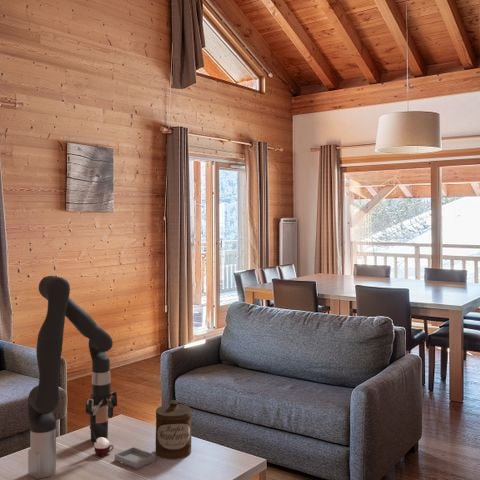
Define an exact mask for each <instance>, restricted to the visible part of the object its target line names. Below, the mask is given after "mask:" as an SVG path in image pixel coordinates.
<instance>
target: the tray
mask: <svg viewBox="0 0 480 480" xmlns="http://www.w3.org/2000/svg"><path fill="white" fill-rule="evenodd" d="M115 460H116V461H115ZM114 461H115V462H117V461H119V462H118V463H120V462H122V463H123V464H122V463H121V464H122V465H124V464H126V465H125V466H127V465H128V466H127V467H129V466H130V467H129V468H131V467H132V469H134V470H136V469H137V470H139V469H141V468H143V467H145V465H146V466H148V465H150V464H152V463H154V462H156V454H155V453H152V452H149V451H146V450H144V449H141V448H138V447H135V446H132V447H128V448H127V449H125V450H122V451H120V452H116V453H115V454H114ZM147 464H148V465H147ZM138 468H139V469H138Z"/></svg>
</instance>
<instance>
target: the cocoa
mask: <svg viewBox="0 0 480 480" xmlns="http://www.w3.org/2000/svg"><path fill="white" fill-rule="evenodd" d="M89 430H90V433H91V432H92V435H93V437H94V440H95V442H93V444H94V453H95V454H96V455H97V456H98V455H99V456H98V457H103V456H104V455H105V456H107V455H108V454H109V453H110V452H112V450H114V445H113V444H110V441H109V439H106V438H104V437H100V438H98V439H97V440H96V438H95V435H94V433H93V430H92V428H91V426H90V425H89ZM111 447H112V448H111ZM106 454H107V455H106Z"/></svg>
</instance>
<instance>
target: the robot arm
mask: <svg viewBox="0 0 480 480" xmlns="http://www.w3.org/2000/svg"><path fill="white" fill-rule="evenodd" d="M70 286H71V285H70V283H69V281H68V279H66V278H64V277H61V276H56V275H46V276H45V277H43V278H42V279H41V280H40V281H39V283H38V291H39V293H40V295H41V296H42V297H43V298H44V299H45V300H46V301H47V310H46V315H45V318H44V320H43V322H42V324H41V327H40V329H39V332H38V334H37V340H36V349H35V350H36V352H35V353H36V362H37V367H38V375H39V377H38V385H36V386H35V387H33V388H32V389H31V390H30V392H29V393H28V397H27V415H28V416H27V417H28V423H29V427H30V428H29V429H30V430H29V431H30V435H29V436H30V439H29V440H30V442H29V443H30V445H29V447H30V448H29V449H28V452H27V455H28V456H27V459H28V461H27V467H28V468H27V469H28V470H27V471H28V473H27V474H28V475H29V476H30V477H32V478H34V479H36V480H39V479H45V478H49V477H51V476H53V475H55V474H56V472H57V421H56V418H55V416H54V411H55V410H56V408H57V407H58V404H59V399H60V389H59V388H60V384H59V379H60V369H61V361H62V359H61V358H62V353H63V343H64V330H65V323H66V322H65V321H66V320H65V319H66V318H67V319H68V321H70V323H71V324H72V325H73V327H74V328H76V329H77V331H78V332H79V333H80V334H81V335H82V336H83V337H85V338H87V339H88V350H89V355H90V357H91V364H92V366H91V371H92V372H91V394H93V398H92V399H90V398H89V399H88V398H87V399H85V414H87V415H89V420H90V421H89V423H90V422H91V423H92V424H95V423H96V415H95V414H96V412H97V410H98V409H99V408H100V407H102V406H106V405H107V406H108V419H113V416H114V409H115V407H117V406H118V396H117V392H116V391H112V388H111V386H112V385H111V384H112V383H111V380H112V379H111V377H112V376H111V365H110V364H111V362H110V358H109V356H108V355H106V352H109V351H110V350H111V349H112V348H113V345H114V343H113V338H112V336H111V335H110V334H109V333H108V332H107V331H106V330H105V329H103V327H101V326H100V325H98V324H97V323H96V321H95V320H94V319H93V317H92V316H91V315H90V314H89V313H88V312H87V311H86V310H85V309H84V308H83V307H81V306H79V305H78V303H76V302H75V301H74V300H72V298H71V297H70V294H71V287H70ZM95 405H96V406H97V407H95Z"/></svg>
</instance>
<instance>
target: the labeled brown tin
mask: <svg viewBox="0 0 480 480" xmlns="http://www.w3.org/2000/svg"><path fill="white" fill-rule="evenodd" d="M191 453H192V408H191V407H190V406H189V405H185V404H181V403H178V401H177V400H176V399H172V400H170V401H169V403H168V404H163V405H161V406H158V407H157V408H156V409H155V456H157V457H159V458H160V459H164V460H180V459H182V458H183V459H184V458H186V457H188V456H189V455H190V454H191Z"/></svg>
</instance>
